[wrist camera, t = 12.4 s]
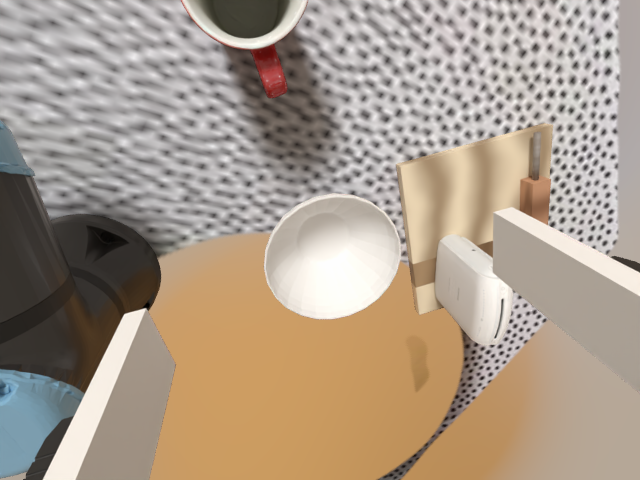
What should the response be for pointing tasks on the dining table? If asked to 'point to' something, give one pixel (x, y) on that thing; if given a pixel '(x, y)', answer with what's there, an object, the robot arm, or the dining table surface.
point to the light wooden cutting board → (462, 198)
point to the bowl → (332, 256)
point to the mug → (251, 30)
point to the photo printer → (472, 290)
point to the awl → (535, 188)
